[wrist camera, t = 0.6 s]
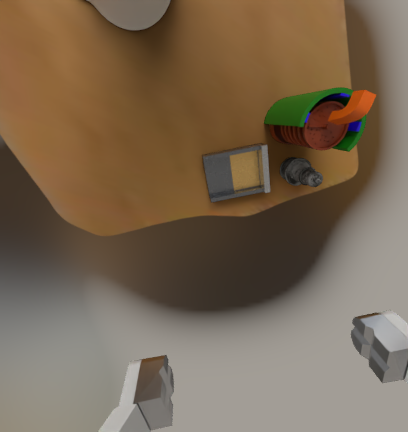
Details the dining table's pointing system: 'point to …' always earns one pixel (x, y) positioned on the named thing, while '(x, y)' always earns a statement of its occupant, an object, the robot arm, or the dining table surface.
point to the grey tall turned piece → (300, 172)
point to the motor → (321, 118)
